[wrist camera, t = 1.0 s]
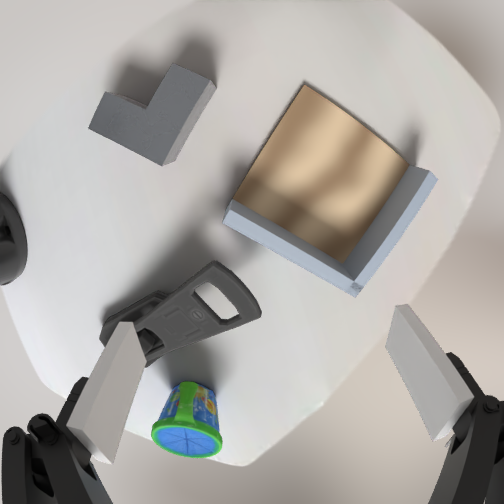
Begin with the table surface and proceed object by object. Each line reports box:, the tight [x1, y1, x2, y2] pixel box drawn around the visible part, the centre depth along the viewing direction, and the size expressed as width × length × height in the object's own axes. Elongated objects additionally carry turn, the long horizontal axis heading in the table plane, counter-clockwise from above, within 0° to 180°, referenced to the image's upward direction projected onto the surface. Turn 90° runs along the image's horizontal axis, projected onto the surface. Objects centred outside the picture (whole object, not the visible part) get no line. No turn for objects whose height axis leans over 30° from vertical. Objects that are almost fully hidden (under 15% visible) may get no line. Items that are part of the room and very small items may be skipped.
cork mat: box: [233, 85, 409, 264], centre depth 30 cm, size 15×14×1 cm
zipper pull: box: [99, 260, 262, 368], centre depth 34 cm, size 9×7×25 cm
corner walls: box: [222, 165, 438, 297], centre depth 28 cm, size 16×16×5 cm
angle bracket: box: [88, 63, 217, 166], centre depth 25 cm, size 9×9×5 cm
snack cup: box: [151, 381, 222, 458], centre depth 39 cm, size 16×10×10 cm
